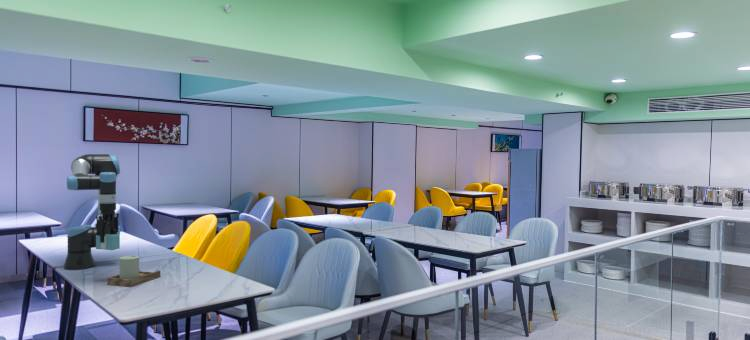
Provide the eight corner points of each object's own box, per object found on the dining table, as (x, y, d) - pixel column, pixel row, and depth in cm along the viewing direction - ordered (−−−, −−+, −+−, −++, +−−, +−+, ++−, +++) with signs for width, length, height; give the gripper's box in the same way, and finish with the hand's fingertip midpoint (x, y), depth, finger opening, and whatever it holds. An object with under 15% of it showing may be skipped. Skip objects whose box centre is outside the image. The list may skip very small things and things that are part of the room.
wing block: (96, 248, 268) (95, 235, 267) (103, 247, 272) (103, 233, 272) (112, 250, 265) (112, 236, 265) (119, 248, 270) (119, 234, 270)
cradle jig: (107, 284, 260) (107, 278, 260) (137, 274, 282) (137, 268, 282) (131, 286, 257) (131, 280, 257) (160, 276, 278) (160, 270, 278)
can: (143, 278, 268) (143, 255, 268) (129, 282, 260) (129, 258, 259) (129, 277, 271) (129, 254, 271) (115, 281, 263) (114, 257, 262)
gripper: (100, 204, 258) (100, 251, 259) (126, 201, 276) (126, 245, 277) (87, 203, 260) (87, 250, 261) (114, 200, 278) (114, 244, 278)
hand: (107, 247), depth 269 cm, fingers closed on wing block, 5 cm apart
